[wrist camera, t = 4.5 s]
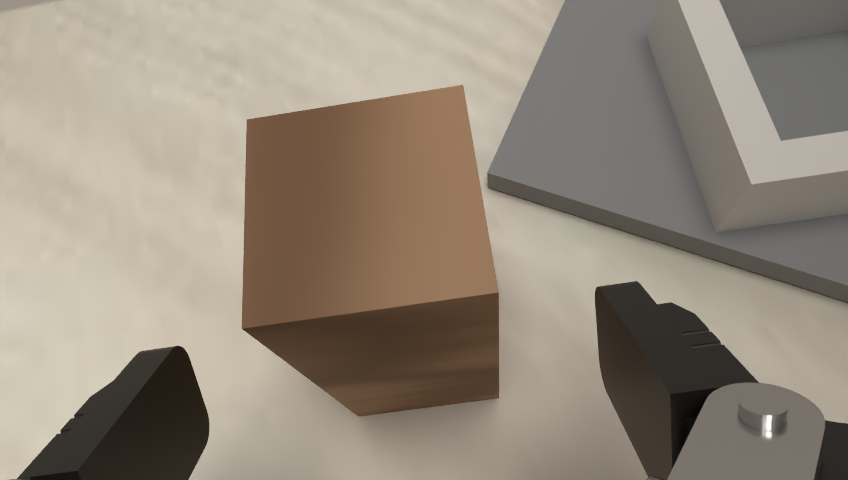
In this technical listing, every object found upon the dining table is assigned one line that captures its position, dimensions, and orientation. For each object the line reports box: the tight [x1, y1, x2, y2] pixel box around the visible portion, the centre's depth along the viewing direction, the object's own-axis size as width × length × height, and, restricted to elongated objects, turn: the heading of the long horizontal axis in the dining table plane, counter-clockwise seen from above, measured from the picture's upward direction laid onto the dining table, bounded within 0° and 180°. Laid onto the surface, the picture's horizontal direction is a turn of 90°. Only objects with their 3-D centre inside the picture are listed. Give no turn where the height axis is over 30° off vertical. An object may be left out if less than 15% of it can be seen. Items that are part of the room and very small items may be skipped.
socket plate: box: [487, 0, 848, 302], centre depth 20 cm, size 18×12×4 cm, turn 66°
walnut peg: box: [242, 85, 499, 416], centre depth 15 cm, size 4×4×10 cm
